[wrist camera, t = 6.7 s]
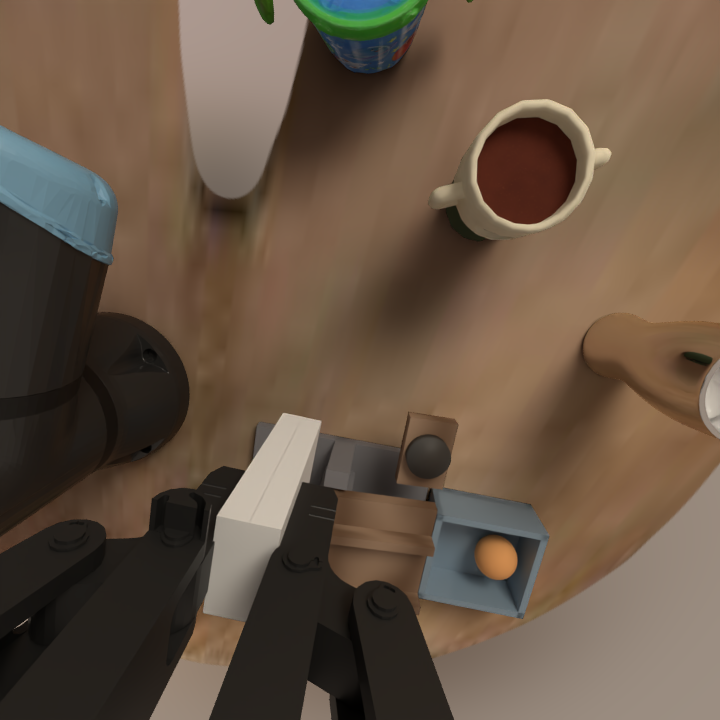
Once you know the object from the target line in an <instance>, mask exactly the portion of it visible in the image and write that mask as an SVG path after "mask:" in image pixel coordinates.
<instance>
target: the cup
mask: <svg viewBox="0 0 720 720" xmlns="http://www.w3.org/2000/svg"><path fill="white" fill-rule="evenodd" d="M428 501H429V502H435V504H436V507H437V510H438V511H437V515H436V519H435V523H434V527H433V531H432V535H431V537H432V540H433V543H434V547H435V552H434V556H433V557H429V556H426V560H425V564H424V568H423V572H422V577H421V581H420V585H419V589H418V598H421V599H426V600H431V601H436V602H441V603H446V604H451V605H456V606H461V607H466V608H471V609H476V610H481V611H486V612H491V613H496V614H501V615H506V616H511V617H516V618H521V619H523V617H524V614H525V611H526V607H527V604H528V601H529V598H530V595H531V592H532V589H533V586H534V582H535V579H536V576H537V573H538V570H539V567H540V564H541V561H542V557H543V554H544V551H545V548H546V545H547V542H548V539H549V534H548V533H547V531H546V529H545V528H544V526H543V524H542V523H541V521H540V519H539V518H538V516H537V514H536V513H535V511H534V509H533V508H532V506H531V504H526V503H520V502H515V501H510V500H505V499H500V498H494V497H489V496H484V495H479V494H474V493H468V492H463V491H458V490H453V489H448V488H443V490H441V489H434V488H431V491H430V495H429V499H428ZM487 535H499V536H502V537H504V538H505V539H507V540H508V541H509V542H510V543H511V544H512V545H513V547H514V549H515V551H516V553H517V560H518V561H517V567H516V570H515V572H514V573H513V574H512V575H511V576H510V577H508V578H507V579H504V580H494V579H491V578H489V577H487V576H486V575H484V574H483V573H482V572H481V571H480V570H479V568H478V566H477V564H476V562H475V557H474V551H475V547H476V545H477V543H478V541H479V540H480V539H481V538H483V537H485V536H487Z"/></svg>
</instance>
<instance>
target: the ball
mask: <svg viewBox="0 0 720 720" xmlns="http://www.w3.org/2000/svg"><path fill="white" fill-rule="evenodd" d="M474 557H475V562H476V564H477V566H478V568H479V570H480V571H481V572H482V573H483V574H484V575H486V576H487V577H489V578H491V579H494V580H504V579H507V578H508V577H510V576H511V575H512V574H513V573H514V572H515V570H516V567H517V561H518V560H517V553H516V551H515V549H514V547H513V545H512V544H511V543H510V542H509V541H508V540H507V539H505V538H504V537H502V536H499V535H487V536H485V537H483V538H481V539H480V540H479V541H478V543H477V545H476V547H475V551H474Z"/></svg>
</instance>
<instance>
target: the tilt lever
mask: <svg viewBox="0 0 720 720" xmlns="http://www.w3.org/2000/svg"><path fill="white" fill-rule="evenodd" d="M457 429H458V423H457V422H456V420H455V419H452V418H445V417H438V416H432V415H425V414H419V413H412V412H408V416H407V421H406V426H405V431H404V435H403V440H402V445H401V450H400V454H399V459H398V464H397V468H396V473H395V479H396V483H398V484H405V485H412V486H419V487H427V488H434V489H441V490H443V486H444V482H445V478H446V474H447V470H448V467H449V465H450V462H451V453H452V449H453V445H454V441H455V437H456V433H457ZM333 489H334V488H333ZM334 491H335V493H336V495H337V498H338V503H337V508H336V514H335V520H334V526H333V531H332V537H331V543H330V548H329V554H328V561H329V564H330V567H331V569H332V570H333V572H334V573H335V574H336V575H337V576H338V577H339V578H340V579H341V580H343V581H344V582H346V583H348V584H349V585H351V586H353V587H355V588H358V586H360V585H361V584H363V583H365V582H367V581H374V580H378V581H384V582H388V583H390V584H392V585H394V586H396V587H398V588H399V589H400V590H401V591H402V592H404V593H405V594H406V595H407V597H408V599H409V600H410V602H411V604H412V606H413V608H414V611H415V614H416V615H419V612H420V608H421V607H420V602H419V598H418V589H419V585H420V581H421V577H422V572H423V568H424V564H425V560H426V556H429V557H433V556H434V552H435V547H434V543H433V540H432V537H431V535H432V531H433V527H434V523H435V519H436V515H437V511H438V510H437V507H436V504H435V502H429V501H422V500H414V499H407V498H400V497H392V496H385V495H378V494H370V493H363V492H356V491H348V490H347V491H346V490H341V489H334Z"/></svg>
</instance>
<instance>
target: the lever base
mask: <svg viewBox="0 0 720 720" xmlns="http://www.w3.org/2000/svg"><path fill="white" fill-rule="evenodd" d="M274 427H275V424H270V423H264V422H259V423H258V425H257V429H256V437H255V446H254V454H253V459H254V458H255V456H256V454H257V453H258V451H259V450H260V448H261V447H262V445H263V444H264V442H265V441H266V439H267V437H268V436H269V434H270V433H271V431H272V430H273V428H274ZM400 450H401V448H396V447H391V446H386V445H381V444H375V443H370V442H365V441H359V440H354V439H349V438H344V437H338V436H333V435H328V434H322V433H319V437H318V442H317V447H316V452H315V457H314V462H313V467H312V472H311V477H310V482H309V483H310V484H315V485H320V486H324V487H329V488H334V489H341V490H346V491H347V490H348V491H356V492H363V493H370V494H378V495H385V496H392V497H400V498H407V499H414V500H422V501H425V500H426V496H427V491H428V488H427V487H419V486H412V485H405V484H398V483H396V479H395V473H396V468H397V464H398V459H399V454H400Z"/></svg>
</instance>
